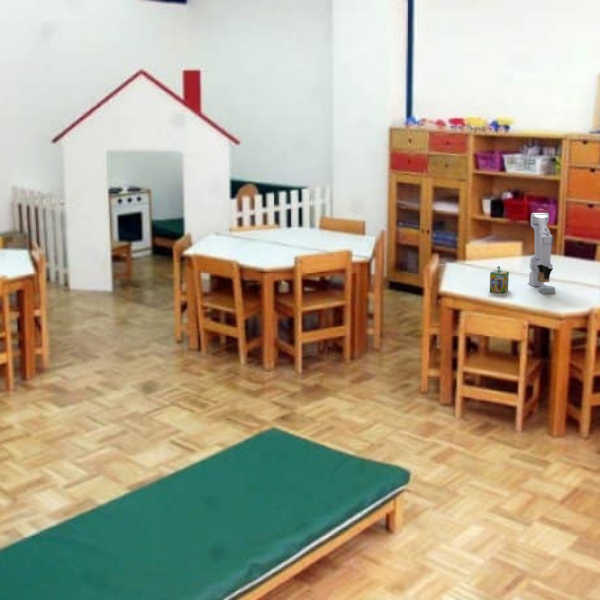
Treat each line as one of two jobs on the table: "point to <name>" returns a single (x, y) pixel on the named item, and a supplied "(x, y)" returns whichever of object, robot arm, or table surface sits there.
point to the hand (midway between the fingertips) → (544, 278)
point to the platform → (547, 289)
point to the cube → (542, 277)
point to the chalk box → (499, 281)
